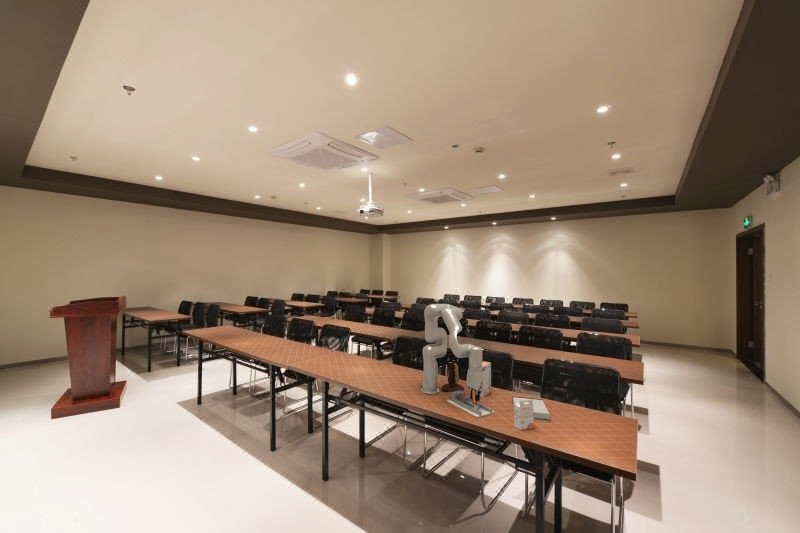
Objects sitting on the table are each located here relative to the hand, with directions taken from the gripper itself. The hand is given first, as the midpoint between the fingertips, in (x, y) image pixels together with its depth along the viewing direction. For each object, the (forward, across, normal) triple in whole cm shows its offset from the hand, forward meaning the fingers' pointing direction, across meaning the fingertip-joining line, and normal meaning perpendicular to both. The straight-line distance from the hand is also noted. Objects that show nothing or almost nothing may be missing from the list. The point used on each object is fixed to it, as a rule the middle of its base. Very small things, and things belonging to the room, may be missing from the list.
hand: (475, 399), depth 197 cm
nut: (+5, -10, 0) cm, 11 cm away
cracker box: (+7, -18, +24) cm, 31 cm away
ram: (+5, -2, 0) cm, 5 cm away
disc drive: (+8, +16, +28) cm, 33 cm away
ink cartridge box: (+7, +28, +8) cm, 30 cm away
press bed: (+7, -5, 0) cm, 8 cm away
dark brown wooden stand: (+7, -34, +12) cm, 37 cm away
